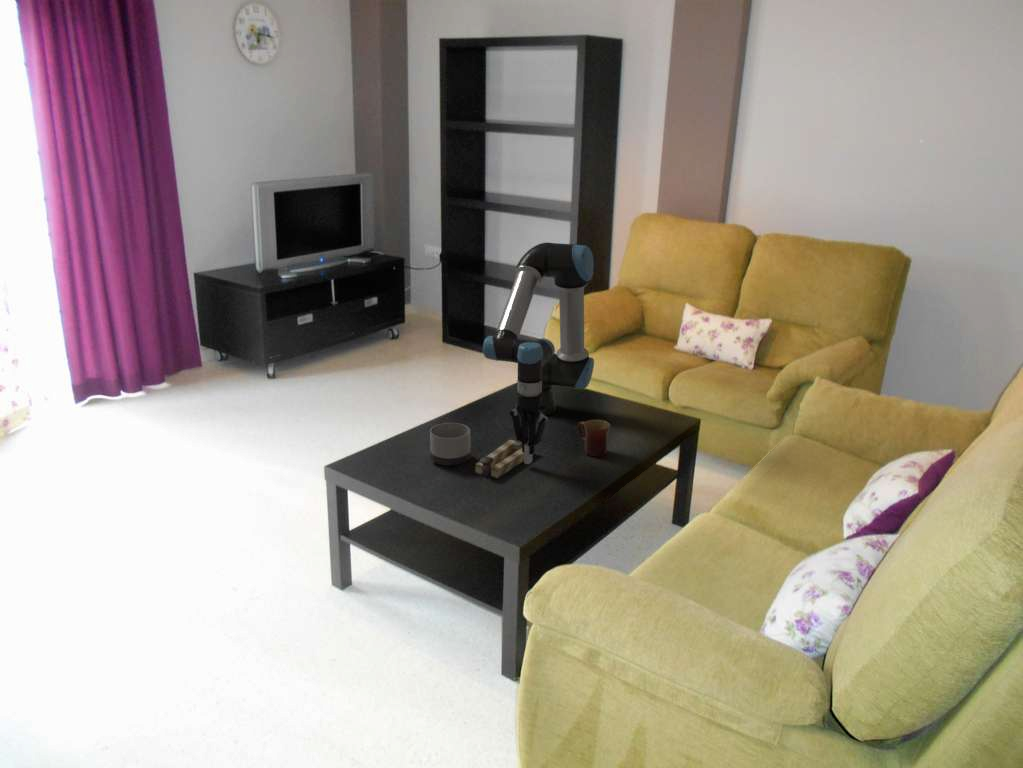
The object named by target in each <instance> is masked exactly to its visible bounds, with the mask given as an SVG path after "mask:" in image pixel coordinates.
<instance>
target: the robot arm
mask: <svg viewBox="0 0 1023 768" xmlns="http://www.w3.org/2000/svg"><path fill="white" fill-rule="evenodd" d="M594 269H595V263H594V255H593V252H592V250H591V249H590V248H589V246H587V245H580V244H577V243H575V244H572V243H555V242H541V243H539V244H536V245H534V246H533V247H531V248H530V249H529V250H527V251H526V252H525V253H524V254H523V255H522V257H520V259H519V261H518V262H517V264H516V267H515V270H514V277H515V279H514V281H513V284H512V287H511V290H510V292H509V294H508V295H509V296H508V299H507V301H506V303H505V307H504V309H503V312H502V314H501V317H500V320H499V323H498V325H497V328H496V331H495V334H494V335H487V336H486V338H484V341H483V345H482V353H483V355H484V357H485V358H486V359H487V360H492V361H496V362H498V361H499V362H510V363H515V364H516V363H517V384H516V386H517V387H516V389H517V394H516V395H517V396H516V402H515V408H514V409H512V410H510V411H509V415H510V417H511V419H512V423H513V428H514V433H515V439H516V440H517V442H520V443H522V452H523V453H524V461H523V464H526V465H530V464H531V463H533V455H532V454H533V453H534V452H535V453H536V446H537V445H538V444H539V443H541V441H542V437H543V434H544V430H545V426H546V423H547V422H548V420H549V419H550V417H549V416H548V415H550V414H553V413H554V412H555V411H556V410H557V402H556V398H555V395H554V392H553V386H555V387H562V388H563V387H564V388H571V389H576V390H577V389H580V390H584V389H586V388H587V387H588V386H589V384H590V382H591V379H592V375H593V372H594V367H595V366H594V365H595V359H594V358H593V357H591V356H590V355H589V350H588V349H587V348H586V347H585V288H586V286H588V285H589V281H591V280H592V279H593V276H594V272H595V271H594ZM543 278H553V279H554V281H553V283H554V286H556V288H558V296H559V297H558V299H559V301H558V302H559V303H558V305H559V334H560V335H559V337H560V338H559V339H560V341H559V343H560V347H559V349H558V350H557V351H556V350H555V349H556V348H555V345H554V343H553V342H552V341H551V340H550V339H548V338H545V337H544V338H543V337H542V338H539V339H536V340H529V339H519V337H520V333H521V331H522V328H523V325H524V322H525V319H526V318H527V314H528V311H529V309H530V305H531V302H532V299H533V297H534V295H535V294H534V293H535V291H536V289H537V285H539V284H540V283H541V282H542V280H543ZM555 352H556V353H555ZM538 419H539V420H538ZM538 421H539V422H538ZM537 422H538V425H537Z"/></svg>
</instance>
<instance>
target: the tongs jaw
mask: <svg viewBox="0 0 1023 768" xmlns="http://www.w3.org/2000/svg"><path fill="white" fill-rule="evenodd" d="M535 454H536V451H535V452H534V453H533V454H532V456H534V455H535ZM521 463H524V453H523V452H522V448H521V449H519V450H518V451H516V452H515V453H513V452H512V453H511V454H509V455H508V456H506V457H505V458H504V459H502V460H501V461H500V462H498V463H497V464H496V465H494V466H493V467H491V476H490V477H493V478H496V479H499V478H500V477H502V476H503V475H505V474H506V473H508V472H509V471H511V470H512V469H514V468H515V467H517V466H518V465H520V464H521Z"/></svg>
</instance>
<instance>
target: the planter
mask: <svg viewBox="0 0 1023 768" xmlns="http://www.w3.org/2000/svg"><path fill="white" fill-rule="evenodd" d="M429 441H430V442H429V444H430V449H429V450H430V459H431V461H433V462H434V463H436V464H439V465H443V466H447V465H449V466H452V465H453V466H457V465H461V464H464V463H466V462H468V460H470V458H471V429H470V427H469V426H467V424H463V423H457V422H444V423H439V424H436V425H434V426H432V427H431V428H430V430H429ZM449 466H448V467H449ZM453 466H452V467H453Z"/></svg>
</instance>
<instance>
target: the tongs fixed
mask: <svg viewBox="0 0 1023 768" xmlns="http://www.w3.org/2000/svg"><path fill="white" fill-rule="evenodd" d="M521 448H522V442H521V441H516V440H513V439H509V440H507V441H506V442H505V443H503V444H501V445H500V446H499V447H498V448H496V449H494V450H493V451H492V452H491V453H489V454H488V455H486V456H483V457H481V458H480V460H479V461H478V462H476V463H475V464H474V465H475V473H476V474H478V475H482V477H483V478H490V477H492V476H491V467H493V466H494V465H496V464H498V463H499V462H501V461H502V460H504V459H505V458H507V457H508V456H510V455H512V454H513V453H515V452H516V451H518V450H519V449H521Z"/></svg>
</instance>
